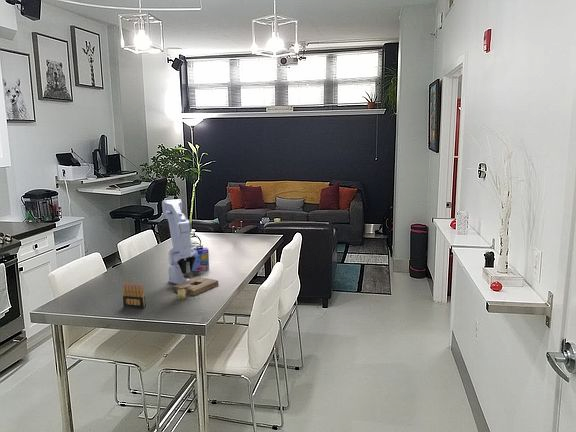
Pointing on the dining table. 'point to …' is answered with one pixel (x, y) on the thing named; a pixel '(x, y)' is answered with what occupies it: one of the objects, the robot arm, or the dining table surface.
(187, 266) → the tall pin
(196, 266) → the ink cartridge box
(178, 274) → the robot arm
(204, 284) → the hole board
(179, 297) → the short pin
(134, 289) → the ammunition clip
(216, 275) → the dining table surface
